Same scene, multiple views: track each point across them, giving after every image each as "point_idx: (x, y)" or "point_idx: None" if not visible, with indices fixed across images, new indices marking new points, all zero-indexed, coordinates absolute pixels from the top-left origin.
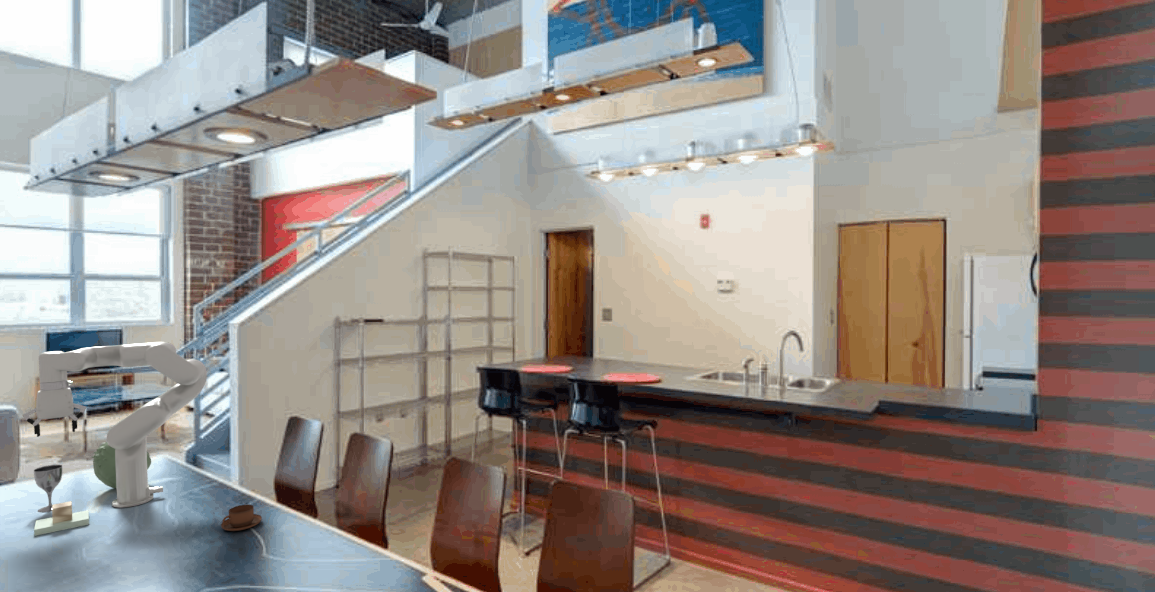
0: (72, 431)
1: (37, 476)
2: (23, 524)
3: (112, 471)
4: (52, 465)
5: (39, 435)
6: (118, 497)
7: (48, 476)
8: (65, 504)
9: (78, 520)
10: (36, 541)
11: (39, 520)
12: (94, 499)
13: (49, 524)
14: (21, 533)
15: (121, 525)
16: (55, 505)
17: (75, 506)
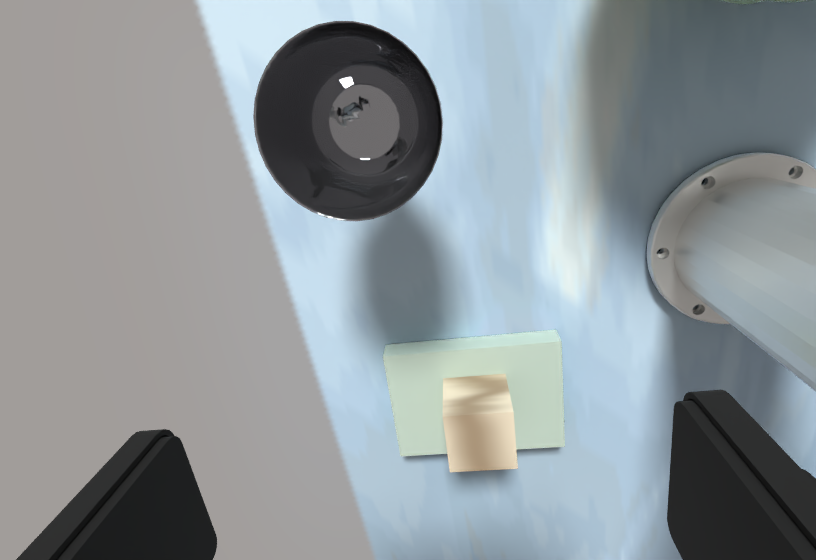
0: (671, 532)
1: (305, 191)
2: (333, 292)
3: (748, 2)
4: (356, 22)
5: (210, 557)
6: (691, 285)
7: (372, 208)
8: (494, 445)
9: (531, 446)
10: (419, 491)
11: (395, 364)
12: (572, 74)
13: (439, 430)
14: (354, 391)
15: (658, 500)
16: (455, 434)
17: (493, 152)
